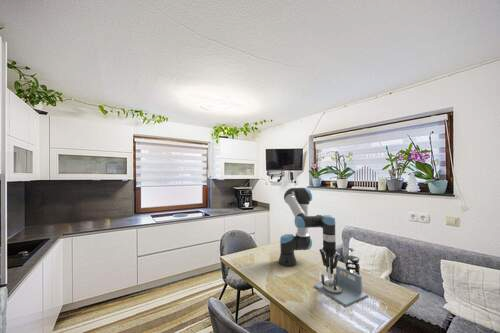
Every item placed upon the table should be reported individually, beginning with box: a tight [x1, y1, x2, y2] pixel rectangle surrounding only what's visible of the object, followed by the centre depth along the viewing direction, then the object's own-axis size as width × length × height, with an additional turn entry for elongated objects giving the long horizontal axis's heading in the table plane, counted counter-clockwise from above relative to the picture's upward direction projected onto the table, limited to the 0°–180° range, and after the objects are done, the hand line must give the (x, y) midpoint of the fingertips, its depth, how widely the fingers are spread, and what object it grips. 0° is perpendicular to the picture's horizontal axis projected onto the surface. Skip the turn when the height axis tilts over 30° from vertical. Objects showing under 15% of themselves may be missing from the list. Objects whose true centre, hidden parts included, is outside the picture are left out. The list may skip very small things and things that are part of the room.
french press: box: [344, 248, 361, 276], centre depth 139 cm, size 12×9×23 cm
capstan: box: [321, 273, 343, 294], centre depth 129 cm, size 12×12×8 cm
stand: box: [313, 265, 369, 307], centre depth 128 cm, size 24×20×11 cm
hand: (330, 278), depth 126 cm, fingers closed
